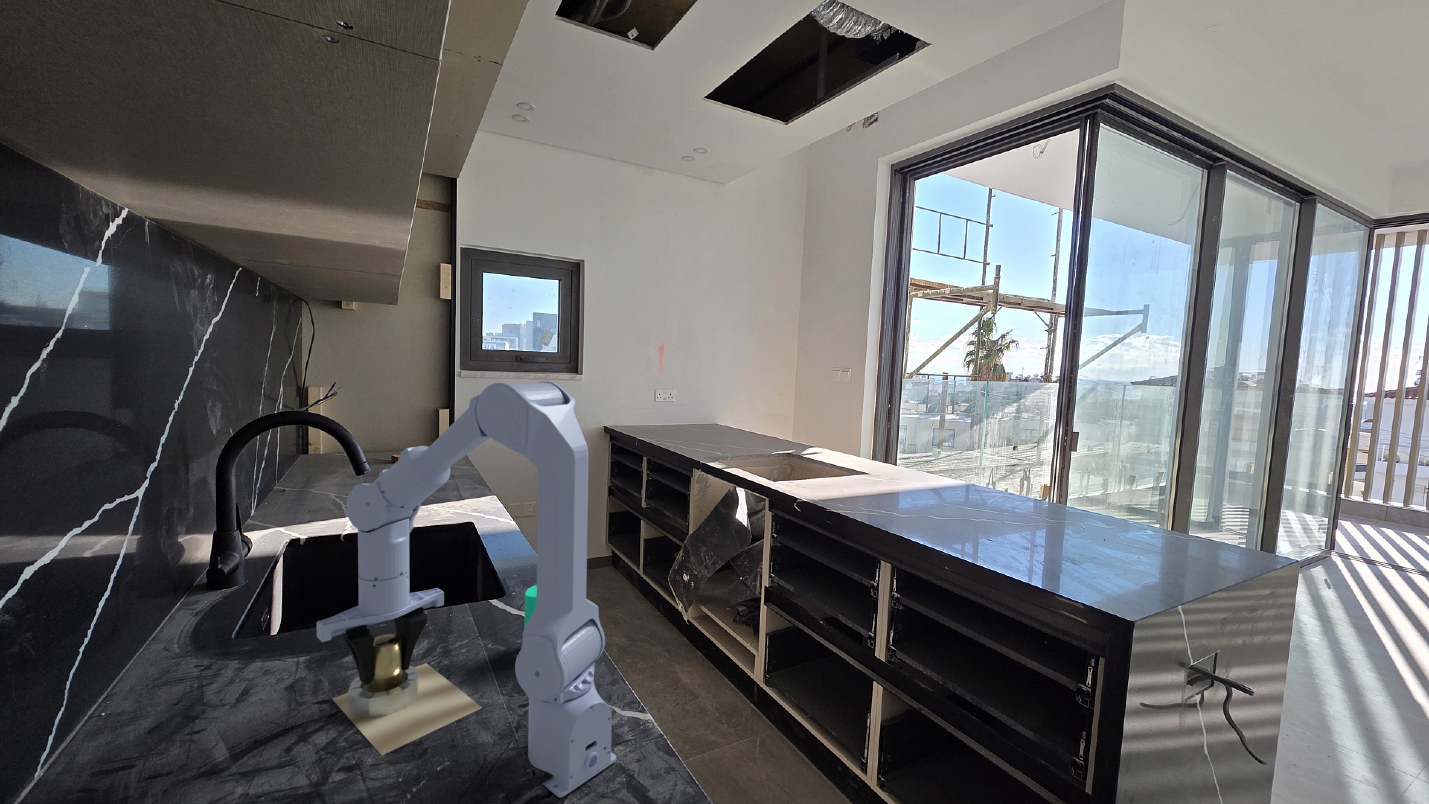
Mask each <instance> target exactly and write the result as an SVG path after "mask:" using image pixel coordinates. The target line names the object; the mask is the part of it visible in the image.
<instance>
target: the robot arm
mask: <svg viewBox="0 0 1429 804" xmlns="http://www.w3.org/2000/svg"><path fill="white" fill-rule="evenodd" d="M576 405H577V402H576V399H575V398H574V397H573V396H572V395H570V394H569V393H568V392H567V391H566V390H565V389H564V387H562V386H560V384H558V383H557V382H553V381H549V380H544V381H538V382H524V383H523V382H522V383H518V382H517V383H508V382H494V383H491V384H490V385H488V386H486V387H485V388H484V389H483V391H482V392H481V393H479V394H477V395H474V396H473V397H472V398H471V399H470V400H469V407H468V408H467V409H466V410H465V411H464V412H463V413H462V414H460V416H459V417H458V418H457V419H456V420H455V421H454V422H452V424H450V426H448V428H447V429H445V431H444V432H443V433H442V434H441V435H439V437H438V438H436V439H435V440H434V441H433V443H431V445H429V446H427V445H419V446H412V447H410V446H409V447H407V448H406V447H405V448H404V449H403V450H402V451H401V452H400V455H401V458H400V459H399V460H398V461H396V462H395V463H394V464H392V465H391V466H390V467H389V468H387V469H382V471H380V472H379V473H378V478H376V479H375V480H374V482H371V483H365V482H364V483H358V484H355V486H354V487H353V488H352V489H351V490H350V492H349V493H348V495H347V498H346V502H345V511H346V515H347V517H348V520H349V521H350V523H351V524H352V526H353V527H355V528H356V529H357V551H358V553H357V557H358V559H357V560H358V561H357V563H358V564H357V566H358V570H357V571H358V575H357V576H358V578H357V579H358V580H357V582H358V605H357V606H354V607H352V608H350V609H349V608H348V610H344V611H342V612H339V613H338V614H335V615H334V616H331V617H327V618H325V619H321V620H318V621H316V638H318V640H319V641H320V642H322V643H324V642H328V641H331V640H332V639H333V637H337V636H339V635H340V637H341V638H342V639H343V640H344V643H345V645H346V646H347V647H348V649H349V651H350V654H351V655H352V657H353V660H354V662H355V666H356V667H357V668H356V669H357V672H358V673H357V674H358V677H359V679H360V680H361V681H362V682H363V683H364V684H365V685H367V684H370V683H372V650H373V644H374V639H375V637H374V636H373V635H372V634H371V633H370V631H371V630H370V629H368V627H369V626H372V625H376V624H378V623H383V622H386V621H390V620H394V623H395V624H394V625H395V632H396V633H395V634H397V635H400V636H401V637H402V670H403V671H405V670H407V669H409V666H411V665H410V664H411V661H412V657H413V653H414V650H415V648H416V644H417V642H418V640H419V638H420V636H421V634H422V632H423V630H424V628H425V627H426V626H427V624H428V618H429V617H428V614H427V613H425V611H424V610H425V609H427V608H430V607H435V608H439V607H442V606H444V605H445V592H444V590H442V589H440V588H438V587H436V588H432V589H427V590H422V591H415V592H410V534H411V532H412V531H413V529H414V520H415V518H416V516H417V515H418V513H419V511H420V509H421V503H423V501H425V500H426V499H428V497H429V496H431V495H432V494H433V493H435V492H436V491H438V490H439V489H440V488H441V487H442V486H443V485H444V484H446V483H447V482H448V480H449V479H450V476H451V467H452V466H453V465H455V464H456V463H457V462H459V461H460V460H461V459H462V458H464V457H465V456H467V455H468V454H469V453H471V452H472V451H474V450H475V449H476V448H478V447H479V446H481V445H482V444H483V443H485V442H486V441H488V440H489V439H492V440H493V441H495V442H497V443H499V444H501V445H503V446H505V447H507V448H509V449H511V450H512V451H514V452H515V453H518V454H519V455H522V456H523V457H525V458H526V459H527V460H528V461H529V462H530V463H531V464H533V465H534V466H535V467H536V469H537V530H536V531H537V532H536V533H537V534H536V535H537V540H536V541H537V544H536V585H537V605H536V608H535V610H534V612H533V614H532V616H531V617H530V619H529V621H528V623H527V625H526V627H525V629H524V628H523V629H524V630H523V632H522V643H521V648H520V650H519V653H518V654H517V656H516V659H515V664H514V671H515V676H516V680H517V683H518V684H519V686H520V688H521V690H522V691H524V693H525V696H526V697H527V698H528V736H527V737H528V741H527V742H528V743H527V745H528V746H527V747H528V748H527V749H528V751H527V755H528V760H529V762H530V764H531V765H532V766H533V767H535V768H536V769H539V770H541V771H544V772H547V773H548V774H550V775H552V777H550V778H549V779H547V780H546V781H543V782H542V783H541V784H542V785H543V786H544V787H546V788H547V790H549V791H550V792H551V793H553V794H554V795H555V796H556V797H558V798H563V797H565V796H567V795H568V794H570V793H571V792H572V791H574V790H576V789H577V788H578V787H580V786H581V785H583V784H584V783H586V782H587V781H589V780H590V779H591V778H593V777H594V776H596V775H597V774H599V773H601V772H602V771H604V770H605V769H606V768H608V767H609V766H610V765H612V764H615V762H616V761H617V755H616V754H614V753H613V752H612V731H613V730H612V729H613V728H612V727H613V726H612V725H613V722H612V721H613V717H612V716H613V714H612V710H611V708H610V705H609V704H608V703H607V702H606V701H605V700H603V698H602V697H601V696H600V694H599V693H598V691H597V689H596V686H595V685H596V684H595V681H594V680H595V679H594V678H595V672H596V671H595V670H596V665H595V664H596V660H598V659H599V658H600V657H601V656H602V654H603V652H604V650H605V646H606V635H605V632H604V629H603V627H602V625H601V622H600V618H599V616H600V615H599V610H600V609H599V605H597V604H596V603H594V602H592V601H591V600H589V599H588V598H587V570H588V567H587V566H588V563H587V562H588V513H589V512H588V511H589V510H588V509H589V507H588V506H589V504H588V503H589V454H590V453H589V447H588V444H587V442H586V438H585V437H584V434H583V432H582V429H581V426H580V424H579V422H578V419H577V416H576Z"/></svg>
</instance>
